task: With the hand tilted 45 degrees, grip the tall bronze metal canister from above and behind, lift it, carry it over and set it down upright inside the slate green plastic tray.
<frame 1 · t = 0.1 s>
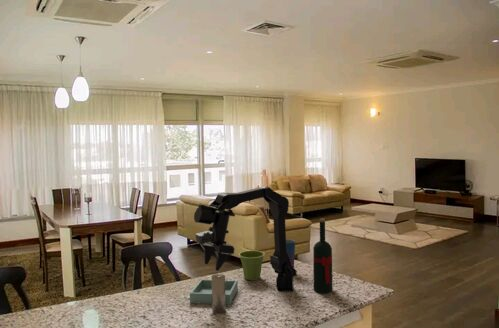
hand: (211, 267, 152), 15 cm above the kitchen counter, tool pointing down, fingers open, 9 cm apart
cup: (288, 272, 192), on the kitchen counter
plant pot: (252, 278, 185), on the kitchen counter
wine bottle: (324, 291, 167), on the kitchen counter
tray: (214, 295, 164), on the kitchen counter
canister: (219, 310, 149), on the kitchen counter
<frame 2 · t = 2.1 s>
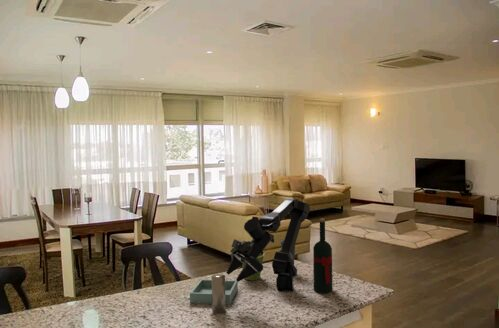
hand: (232, 277, 151), 12 cm above the kitchen counter, tool tilted 45°, fingers open, 9 cm apart
nothing on the kitchen counter moved.
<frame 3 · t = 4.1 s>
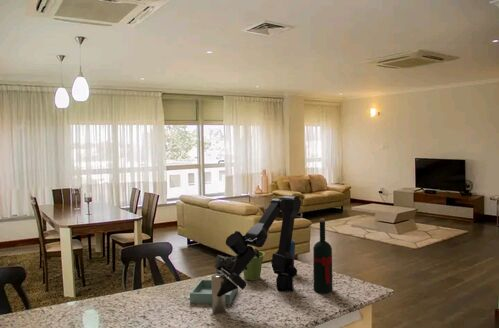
hand: (215, 293, 149), 7 cm above the kitchen counter, tool tilted 45°, fingers closed on canister, 5 cm apart
canister: (219, 310, 149), on the kitchen counter, touching gripper
everything else where it was.
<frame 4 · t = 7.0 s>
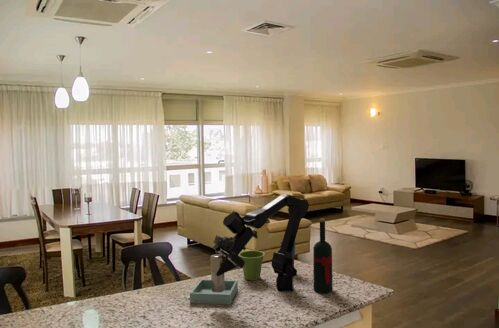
hand: (214, 273, 151), 13 cm above the kitchen counter, tool tilted 45°, fingers closed on canister, 5 cm apart
canister: (218, 289, 152), point 7 cm above the kitchen counter, touching gripper
everything else where it was.
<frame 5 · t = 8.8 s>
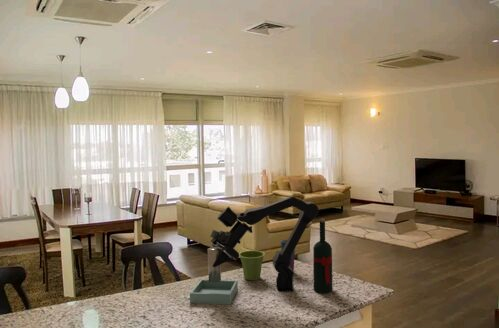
hand: (211, 264, 163), 13 cm above the kitchen counter, tool tilted 45°, fingers closed on canister, 5 cm apart
canister: (214, 280, 164), point 6 cm above the kitchen counter, touching gripper
everything else where it was.
when the fingers open (9 cm above the kitchen counter, at t = 10.0 s): canister drops 1 cm, resting on tray.
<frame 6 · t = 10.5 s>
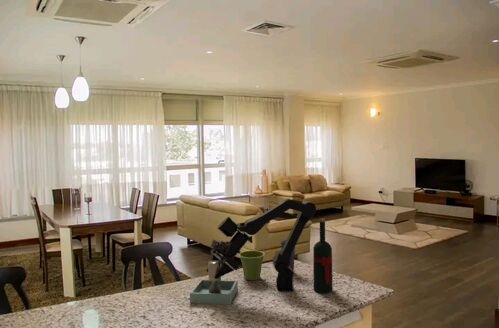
hand: (211, 274, 163), 9 cm above the kitchen counter, tool tilted 45°, fingers open, 9 cm apart
canister: (215, 293, 164), point 1 cm above the kitchen counter, touching tray
everything else where it was.
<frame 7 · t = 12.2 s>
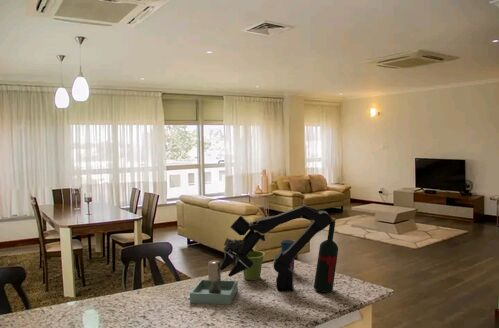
hand: (224, 272, 165), 9 cm above the kitchen counter, tool tilted 45°, fingers open, 9 cm apart
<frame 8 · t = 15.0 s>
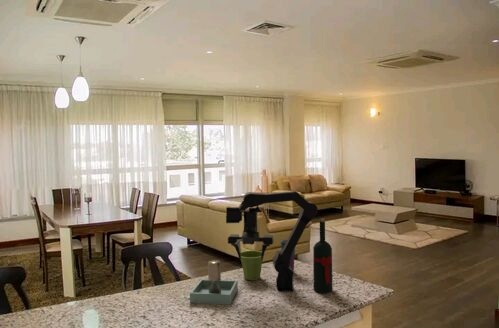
hand: (251, 259, 169), 13 cm above the kitchen counter, tool pointing down, fingers open, 9 cm apart
at the end: canister inside the target area on the tray (0.1 cm from its centre), point 0.8 cm above the tray's base; canister tilted 1°; the gripper is holding nothing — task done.
